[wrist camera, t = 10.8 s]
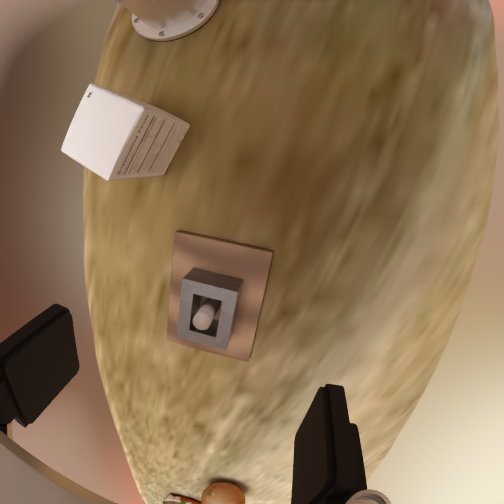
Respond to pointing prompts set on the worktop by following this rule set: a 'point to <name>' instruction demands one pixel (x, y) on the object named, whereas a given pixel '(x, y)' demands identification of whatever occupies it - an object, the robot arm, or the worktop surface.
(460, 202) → the worktop surface
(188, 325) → the link
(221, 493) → the onion
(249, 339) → the keeper
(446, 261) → the worktop surface
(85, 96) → the supplement box
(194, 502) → the burger
